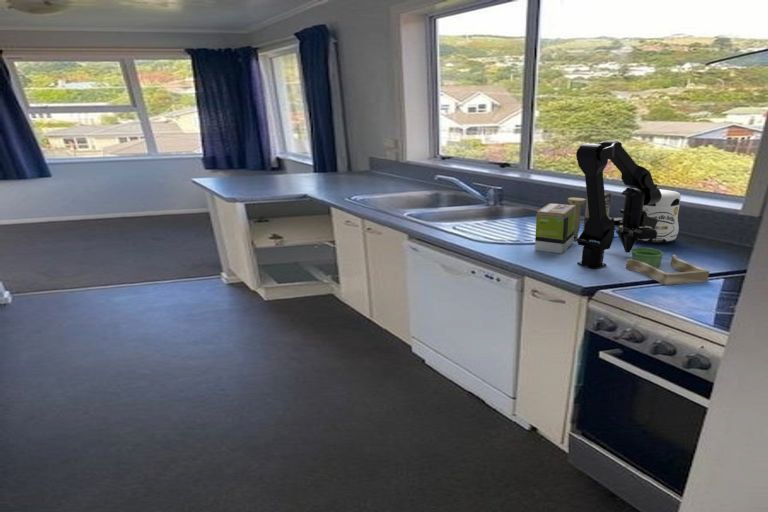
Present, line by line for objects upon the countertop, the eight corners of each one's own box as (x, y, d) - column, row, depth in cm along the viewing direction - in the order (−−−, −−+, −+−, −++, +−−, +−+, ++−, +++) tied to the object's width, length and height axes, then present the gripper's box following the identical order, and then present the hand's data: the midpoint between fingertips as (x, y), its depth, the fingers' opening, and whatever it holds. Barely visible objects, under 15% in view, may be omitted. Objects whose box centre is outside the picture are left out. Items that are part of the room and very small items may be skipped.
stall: (624, 267, 151) (625, 258, 150) (673, 263, 153) (674, 254, 152) (659, 285, 136) (661, 275, 135) (713, 280, 138) (714, 270, 137)
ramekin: (663, 270, 148) (665, 256, 147) (631, 267, 151) (632, 254, 150) (659, 261, 156) (661, 248, 155) (628, 258, 159) (630, 246, 158)
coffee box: (598, 237, 184) (603, 196, 179) (582, 235, 188) (586, 194, 183) (607, 232, 190) (612, 192, 185) (591, 230, 194) (595, 191, 189)
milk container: (655, 249, 168) (662, 199, 162) (613, 238, 183) (619, 191, 177) (687, 242, 175) (695, 193, 169) (644, 231, 190) (650, 186, 184)
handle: (568, 234, 190) (571, 197, 185) (584, 237, 185) (587, 199, 181) (562, 236, 187) (565, 198, 182) (578, 239, 182) (582, 201, 178)
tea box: (546, 240, 183) (549, 202, 179) (573, 243, 178) (577, 204, 173) (533, 250, 172) (536, 210, 167) (562, 254, 166) (565, 213, 161)
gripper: (675, 211, 150) (668, 258, 154) (637, 200, 167) (631, 243, 172) (643, 214, 148) (637, 261, 153) (607, 202, 166) (603, 245, 171)
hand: (627, 252), depth 162 cm, fingers closed
